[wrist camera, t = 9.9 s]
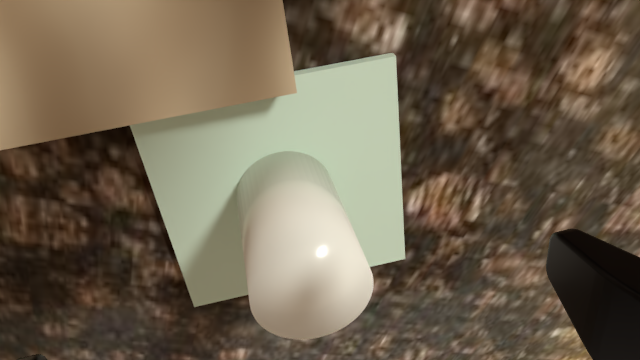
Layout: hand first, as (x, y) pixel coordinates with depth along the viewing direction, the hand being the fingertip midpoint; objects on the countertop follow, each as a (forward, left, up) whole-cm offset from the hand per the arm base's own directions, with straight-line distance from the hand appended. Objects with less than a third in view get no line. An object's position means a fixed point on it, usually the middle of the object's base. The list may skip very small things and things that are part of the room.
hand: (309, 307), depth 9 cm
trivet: (0, +5, -12) cm, 13 cm away
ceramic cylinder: (0, +5, -12) cm, 13 cm away
